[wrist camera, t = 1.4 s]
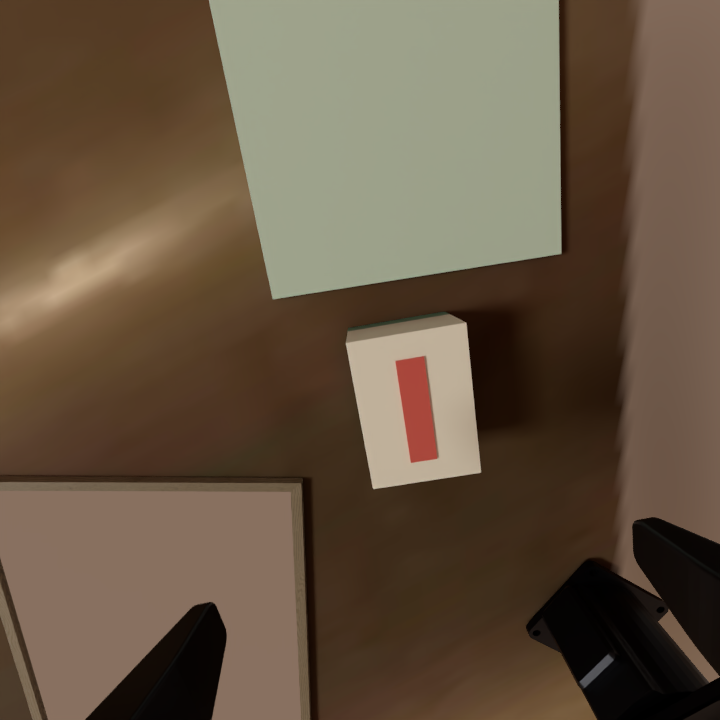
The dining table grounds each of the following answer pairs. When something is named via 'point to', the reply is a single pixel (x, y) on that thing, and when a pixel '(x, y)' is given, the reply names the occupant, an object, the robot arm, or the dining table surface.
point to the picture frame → (154, 585)
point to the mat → (395, 134)
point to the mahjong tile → (415, 398)
